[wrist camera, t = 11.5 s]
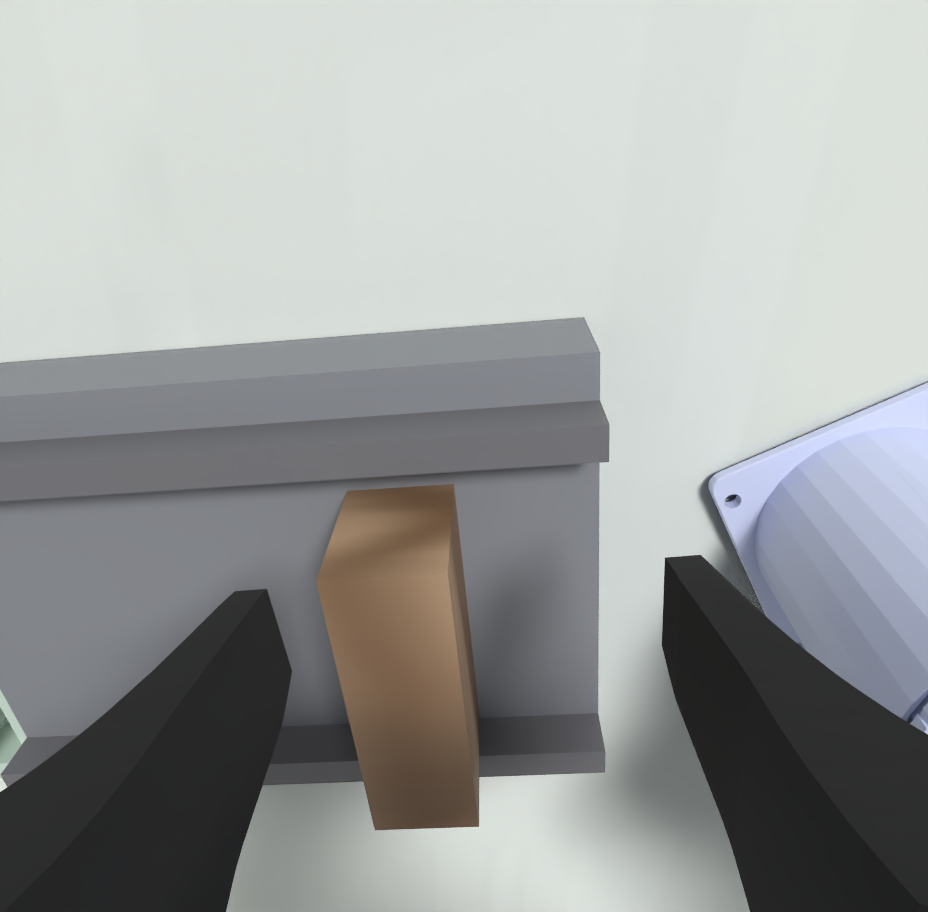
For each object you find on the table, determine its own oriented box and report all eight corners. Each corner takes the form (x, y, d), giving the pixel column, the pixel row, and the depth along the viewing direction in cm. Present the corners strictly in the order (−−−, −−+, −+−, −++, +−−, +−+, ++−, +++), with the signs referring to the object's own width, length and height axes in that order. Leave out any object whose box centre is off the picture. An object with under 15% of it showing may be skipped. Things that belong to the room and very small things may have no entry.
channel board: (583, 317, 20) (609, 373, 16) (585, 693, 26) (604, 798, 23) (-76, 368, 21) (-207, 433, 17) (92, 714, 28) (26, 818, 24)
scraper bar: (454, 483, 19) (447, 573, 15) (479, 713, 23) (479, 826, 19) (347, 490, 19) (315, 581, 15) (391, 717, 23) (375, 829, 20)
